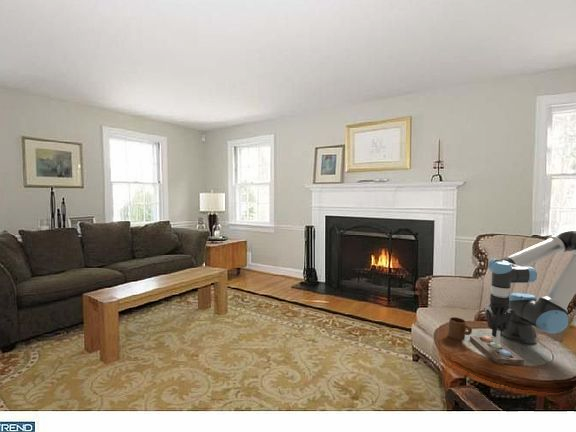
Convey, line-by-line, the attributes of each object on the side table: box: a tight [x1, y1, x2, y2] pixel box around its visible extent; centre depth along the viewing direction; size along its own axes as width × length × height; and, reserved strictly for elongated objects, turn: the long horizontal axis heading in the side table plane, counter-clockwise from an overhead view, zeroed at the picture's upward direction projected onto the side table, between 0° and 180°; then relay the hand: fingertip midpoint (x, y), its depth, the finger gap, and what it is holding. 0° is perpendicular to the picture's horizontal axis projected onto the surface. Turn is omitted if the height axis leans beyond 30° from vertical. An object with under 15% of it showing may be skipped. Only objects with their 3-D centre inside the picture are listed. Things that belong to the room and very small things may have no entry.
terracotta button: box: [481, 335, 492, 343], centre depth 161 cm, size 4×4×3 cm
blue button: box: [499, 349, 511, 358], centre depth 147 cm, size 4×4×3 cm
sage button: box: [490, 342, 501, 350], centre depth 154 cm, size 4×4×3 cm
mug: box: [447, 316, 473, 342], centre depth 165 cm, size 12×8×9 cm, turn 21°
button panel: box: [469, 335, 525, 365], centre depth 154 cm, size 12×22×2 cm, turn 179°
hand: (496, 342), depth 154 cm, fingers closed
